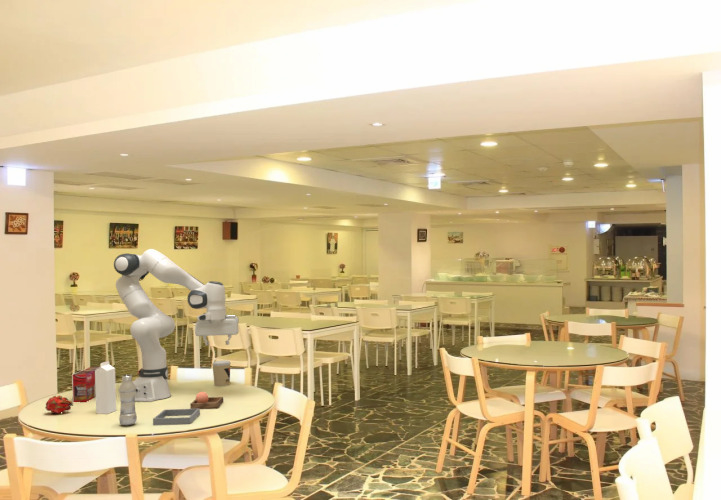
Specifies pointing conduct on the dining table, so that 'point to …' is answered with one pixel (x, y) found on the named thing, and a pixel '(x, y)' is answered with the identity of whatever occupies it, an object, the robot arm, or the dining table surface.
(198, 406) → the tray
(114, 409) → the milk
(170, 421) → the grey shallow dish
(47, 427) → the dining table surface
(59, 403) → the dragon fruit
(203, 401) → the ball
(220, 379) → the coffee cup
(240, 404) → the dining table surface
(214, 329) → the robot arm
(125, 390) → the plastic bottle
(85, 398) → the ice cream box
